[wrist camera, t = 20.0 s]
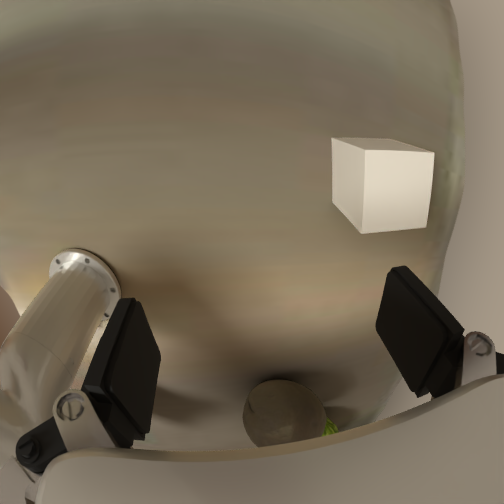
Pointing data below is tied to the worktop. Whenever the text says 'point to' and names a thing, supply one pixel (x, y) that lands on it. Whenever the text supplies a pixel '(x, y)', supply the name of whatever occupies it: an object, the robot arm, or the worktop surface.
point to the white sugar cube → (381, 183)
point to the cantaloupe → (283, 413)
